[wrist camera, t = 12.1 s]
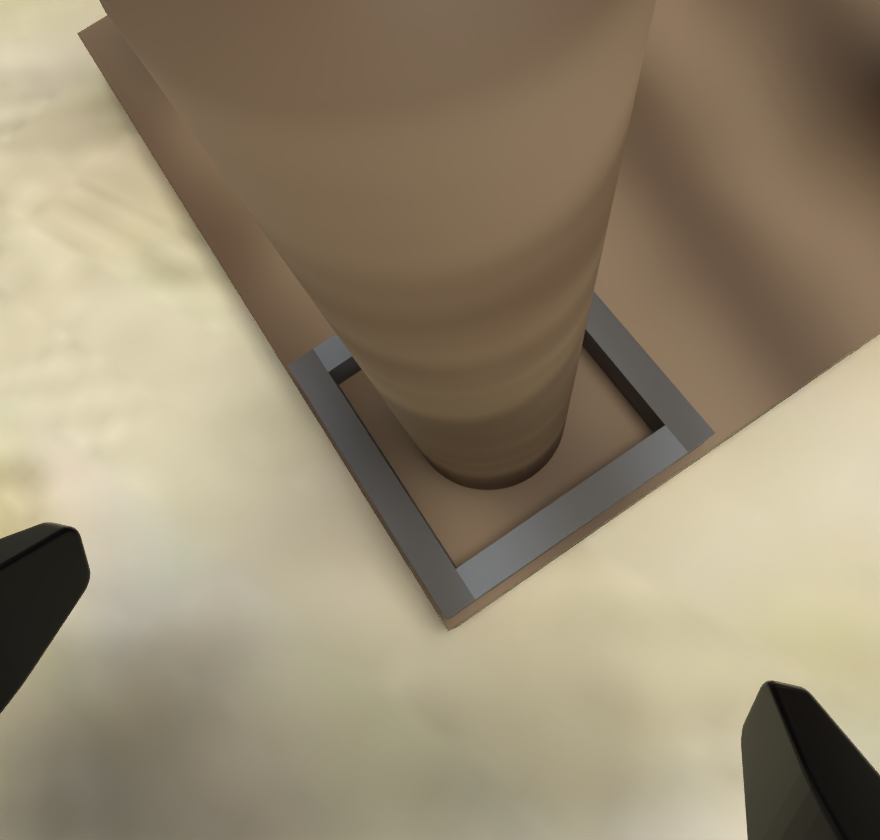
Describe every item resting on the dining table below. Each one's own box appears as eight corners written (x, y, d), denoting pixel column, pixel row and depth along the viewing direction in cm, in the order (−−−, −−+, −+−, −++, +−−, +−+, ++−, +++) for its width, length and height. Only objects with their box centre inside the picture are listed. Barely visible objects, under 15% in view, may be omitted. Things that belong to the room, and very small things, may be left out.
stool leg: (552, 503, 16) (646, 132, 3) (397, 474, 16) (-6, 80, 4) (576, 355, 17) (721, -368, 4) (430, 334, 17) (185, -335, 5)
